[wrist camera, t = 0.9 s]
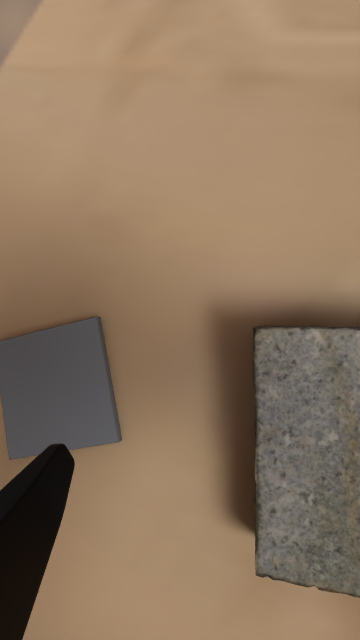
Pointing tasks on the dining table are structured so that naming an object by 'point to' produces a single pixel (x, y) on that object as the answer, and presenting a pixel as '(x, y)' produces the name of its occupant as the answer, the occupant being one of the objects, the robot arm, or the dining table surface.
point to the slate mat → (57, 389)
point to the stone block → (307, 456)
